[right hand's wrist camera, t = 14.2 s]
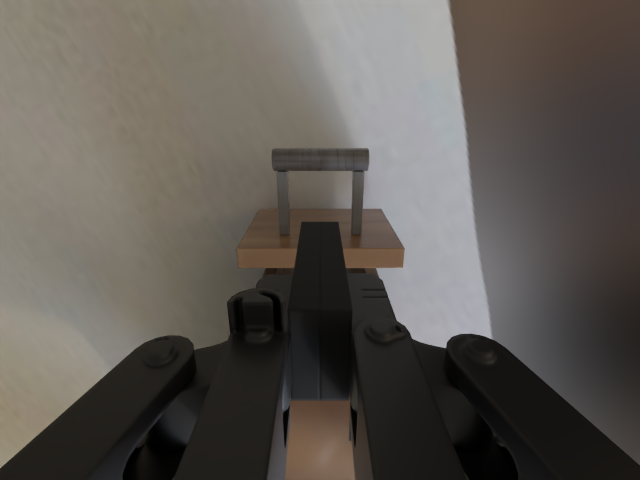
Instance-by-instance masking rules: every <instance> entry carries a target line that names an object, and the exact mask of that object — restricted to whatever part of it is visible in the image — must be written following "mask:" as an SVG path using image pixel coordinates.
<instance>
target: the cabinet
mask: <svg viewBox="0 0 640 480" xmlns="http://www.w3.org/2000/svg"><path fill="white" fill-rule="evenodd" d="M349 419H350V394H349V401H291V396H290V429H289V440H288V451H287V462H286V473H285V480H355V472H354V461H353V450H352V441H349Z"/></svg>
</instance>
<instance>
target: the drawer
mask: <svg viewBox="0 0 640 480" xmlns="http://www.w3.org/2000/svg"><path fill="white" fill-rule="evenodd" d="M272 167H273V170H274V171H277V188H278V209H260V210H259V211H258V213H257V215H256V216H255V218H254V220H253V222H252V223H251V225H250V227H249V228H248V230H247V232H246V233H245V235H244V237H243V239H242V240H241V242H240V244H239V245H238V247H237V258H238V268H265V271H264V274H263V277H264V276H265V275H267V274H293V272H294V266H295V259H296V253H297V247H298V241H299V234H300V228H301V222H339V228H340V234H341V241H342V247H343V253H344V259H345V266H346V272H347V273H374V274H375V275H376V276H377V277H379V276H378V273H377V270H376V268H403V260H404V247H403V245H402V243H401V242H400V240H399V238H398V237H397V235H396V233H395V232H394V230H393V228H392V226H391V225H390V223H389V221H388V220H387V218H386V216H385V215H384V213H383V211H382V210H381V209H363V188H364V171H367V170H368V167H369V150H368V149H367V148H293V149H273V150H272ZM288 171H353V179H352V209H289V180H288ZM263 277H262V278H263Z"/></svg>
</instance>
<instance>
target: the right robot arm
mask: <svg viewBox="0 0 640 480" xmlns="http://www.w3.org/2000/svg"><path fill="white" fill-rule="evenodd" d="M227 307H228V316H229V325H230V335H229V338H228V341H225V342H223V343H221V344H218V345H214V346H211V347H206V348H201V349H196V350H194V347H193V343H192V342H191V341H190V340H189V339H188V338H185V337H182V336H170V335H169V336H164V337H158V338H155V339H153V340H150V341H148V342H145V343H144V344H142V345H141V346H139V347H138V348H136V349H135V350H134V351H133V352H131V353H130V354H129V355H128V356H127V357H126V358H125V359H124V360H122V361H121V362H120V363H119V364H118V365H117V366H116V367H114V368H113V369H112V370H111V371H110V372H109V373H108V374H107V375H105V376H104V377H103V378H102V379H101V380H100V381H99V382H98V383H96V384H95V385H94V386H93V387H92V388H91V389H90V390H88V391H87V392H86V393H85V394H84V395H83V396H82V397H81V398H79V399H78V400H77V401H76V402H75V403H74V404H73V405H72V406H70V407H69V408H68V409H67V410H66V411H65V412H64V413H62V414H61V415H60V416H59V417H58V418H57V419H56V420H55V421H53V422H52V423H51V424H50V425H49V426H48V427H47V428H45V429H44V430H43V431H42V432H41V433H40V434H39V435H38V436H36V437H35V438H34V439H33V440H32V441H31V442H30V443H29V444H27V445H26V446H25V447H24V448H23V449H22V450H21V451H19V452H18V453H17V454H16V455H15V456H14V457H13V458H12V459H10V460H9V461H8V462H7V463H6V464H5V465H4V466H3V467H1V468H0V480H285V473H286V462H287V451H288V440H289V429H290V396H291V401H349V394H350V419H349V441H352V450H353V461H354V472H355V480H640V465H639V464H637V463H636V462H635V461H634V460H633V459H632V458H631V457H629V456H628V455H627V454H626V453H625V452H624V451H623V450H621V449H620V448H619V447H618V446H617V445H616V444H615V443H613V442H612V441H611V440H610V439H609V438H608V437H607V436H606V435H604V434H603V433H602V432H601V431H600V430H599V429H597V428H596V427H595V426H594V425H593V424H592V423H591V422H589V421H588V420H587V419H586V418H585V417H584V416H583V415H582V414H580V413H579V412H578V411H577V410H576V409H575V408H574V407H572V406H571V405H570V404H569V403H568V402H567V401H566V400H564V399H563V398H562V397H561V396H560V395H559V394H558V393H556V392H555V391H554V390H553V389H552V388H551V387H550V386H548V385H547V384H546V383H545V382H544V381H543V380H542V379H541V378H539V377H538V376H537V375H536V374H535V373H534V372H532V371H531V370H530V369H529V368H528V367H527V366H526V365H525V364H523V363H522V362H521V361H520V360H519V359H518V358H517V357H515V356H514V355H513V354H512V353H511V352H510V351H509V350H507V349H506V348H505V347H504V346H502V345H501V344H499V343H498V342H496V341H494V340H492V339H489V338H487V337H484V336H480V335H475V334H460V335H457V336H454V337H452V338H451V339H450V340H449V341H448V342H447V347H446V348H441V347H437V346H432V345H428V344H424V343H420V342H418V341H416V340H414V339H412V338H411V335H410V333H409V331H408V330H407V328H406V327H405V326H404V325H402V324H401V323H399V322H398V321H397V320H396V318H395V315H394V312H393V309H392V306H391V304H390V301H389V298H388V295H387V292H386V291H385V287H384V284H383V281H382V280H381V279H380V278H379V277H377V276H376V275H375V274H374V273H347V272H346V266H345V259H344V253H343V247H342V241H341V234H340V228H339V222H301V228H300V234H299V241H298V247H297V253H296V259H295V266H294V272H293V274H267V275H265V276H264V277H263V278H262V279H261V280H259V281H258V282H257V285H256V288H255V289H249V290H245V291H242V292H239V293H238V294H236V295H234V296H232V297H231V298H230V299H229V301H228V302H227Z"/></svg>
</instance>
